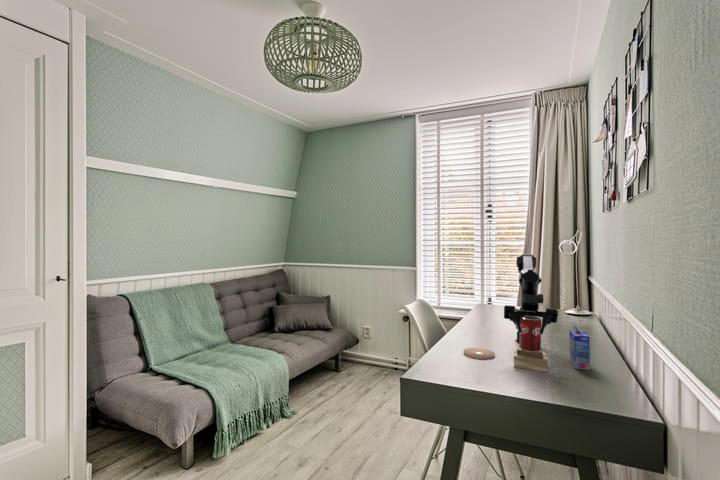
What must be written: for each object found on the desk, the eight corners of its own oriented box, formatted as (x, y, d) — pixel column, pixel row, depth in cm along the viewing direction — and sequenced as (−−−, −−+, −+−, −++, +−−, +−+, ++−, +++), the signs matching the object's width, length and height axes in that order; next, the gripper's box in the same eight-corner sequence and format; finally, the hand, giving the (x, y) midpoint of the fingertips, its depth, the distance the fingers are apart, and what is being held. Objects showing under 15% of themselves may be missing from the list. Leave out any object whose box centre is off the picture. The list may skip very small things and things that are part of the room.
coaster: (482, 349, 164) (482, 347, 164) (501, 357, 153) (501, 355, 153) (457, 351, 160) (457, 349, 160) (474, 360, 149) (474, 357, 149)
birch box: (513, 358, 152) (513, 348, 152) (544, 362, 148) (544, 351, 148) (514, 367, 141) (514, 356, 141) (547, 371, 137) (547, 360, 137)
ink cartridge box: (568, 360, 151) (569, 323, 151) (584, 362, 149) (585, 324, 149) (573, 368, 141) (574, 328, 141) (590, 370, 139) (591, 330, 139)
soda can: (540, 348, 146) (541, 316, 146) (540, 353, 140) (541, 320, 140) (520, 346, 149) (520, 315, 149) (519, 351, 143) (519, 318, 143)
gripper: (504, 284, 151) (503, 318, 141) (557, 287, 145) (561, 323, 135) (504, 301, 159) (503, 334, 149) (555, 305, 152) (557, 340, 142)
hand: (530, 333), depth 143 cm, fingers closed on soda can, 7 cm apart
